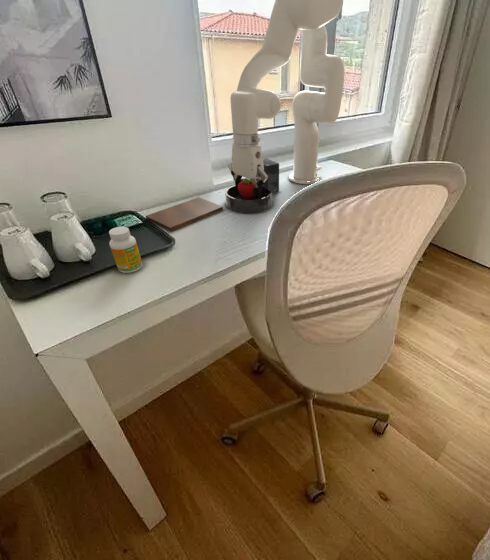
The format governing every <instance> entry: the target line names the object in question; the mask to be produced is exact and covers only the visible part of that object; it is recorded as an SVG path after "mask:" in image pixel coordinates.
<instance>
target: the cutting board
mask: <svg viewBox="0 0 490 560" xmlns="http://www.w3.org/2000/svg"><path fill="white" fill-rule="evenodd" d="M221 211H224V206H222V205H220V204H218V203H215V202H212V201H211V200H208V199H204V198H203V197H200V196H198V197H195V198H193V199H190V200H187V201H183V202H181V203H178V204H175V205H172V206H170V207H166V208H163V209H161V210H158V211H155V212H151V213H149V214H146V215H145V219H146V220H147V221H148V222H151V223H153V224H155V225H157V226H159V227H161V228H163V229H165V230H167V231H168V232H173V231H176V230H179V229H180V228H183V227H186V226H188V225H190V224H193V223H195V222H198V221H200V220H203V219H205V218H207V217H210V216H212V215H215V214H217V213H219V212H221Z"/></svg>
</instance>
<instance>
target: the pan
mask: <svg viewBox="0 0 490 560" xmlns="http://www.w3.org/2000/svg"><path fill="white" fill-rule="evenodd" d="M261 188H262V197H261V198H258V199H254V200H244V199H243V197H242V196H241V195H240V193H236V189H235V184H234V185H231V186H230V187H228V188H226V190H225V191H224V196H225V205H226V208H227V209H228V210H229V211H231V212H233V213H238V214H245V215H246V214H247V215H251V214H259V213H263V212H266V211H268V210H269V209H271V207H272V204H273V202H272V201H273V200H272V197H273V196H272V195H273V194H272V192H271V190H270V189H269V188H268V187H266V186H261Z"/></svg>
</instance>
